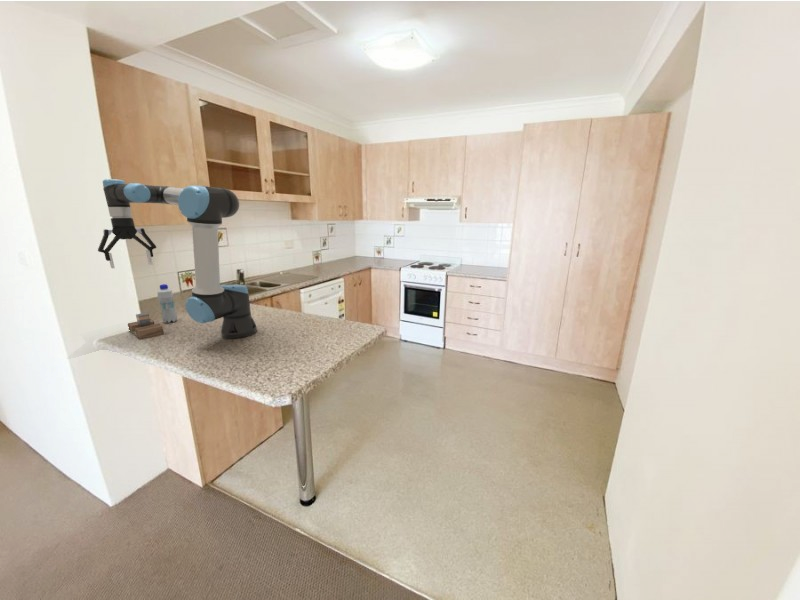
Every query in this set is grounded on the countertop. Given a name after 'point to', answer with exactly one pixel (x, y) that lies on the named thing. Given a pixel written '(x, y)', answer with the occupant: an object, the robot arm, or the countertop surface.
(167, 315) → the bottle
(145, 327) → the brown ridged block
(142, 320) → the grey rectangular block
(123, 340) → the countertop surface
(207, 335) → the countertop surface
